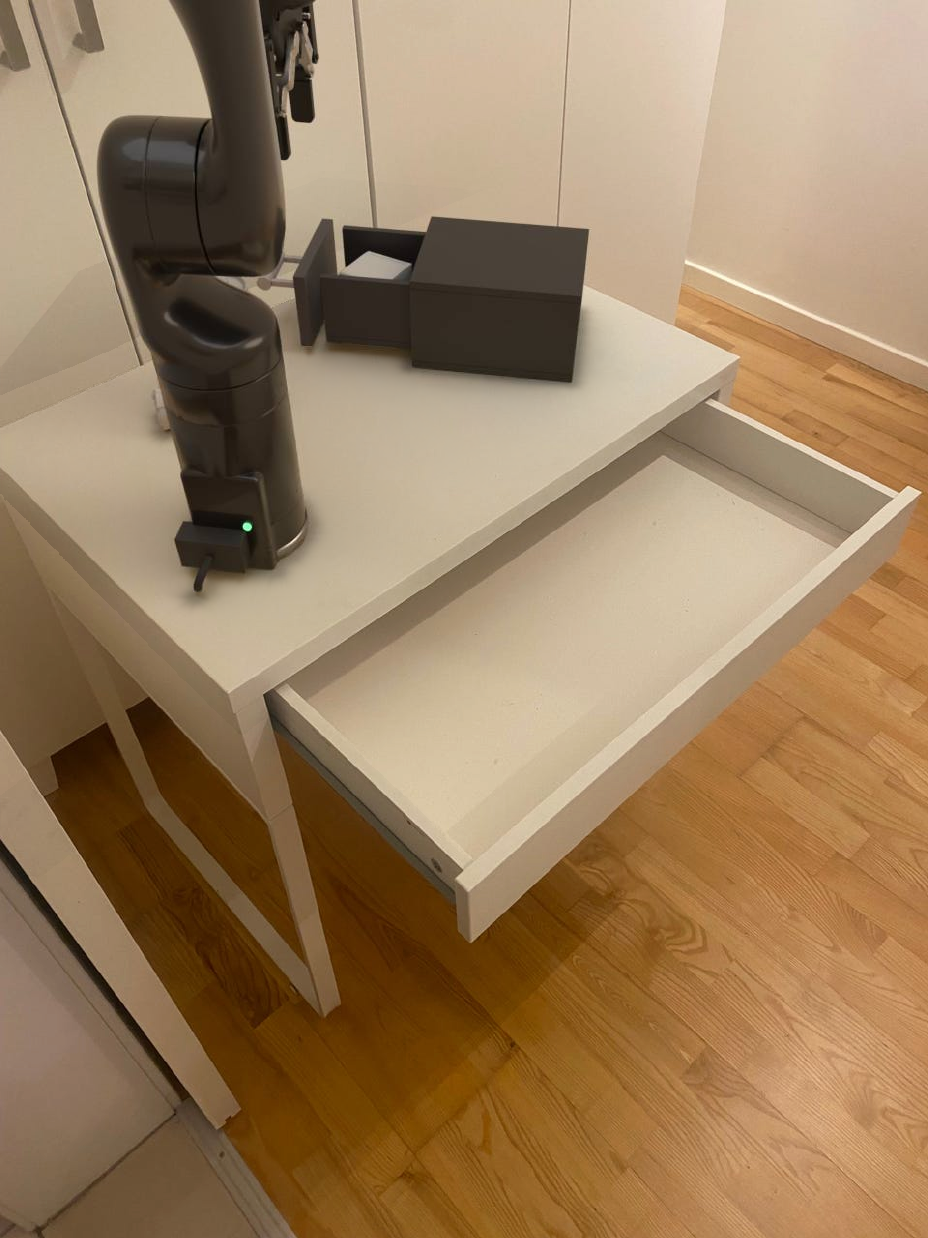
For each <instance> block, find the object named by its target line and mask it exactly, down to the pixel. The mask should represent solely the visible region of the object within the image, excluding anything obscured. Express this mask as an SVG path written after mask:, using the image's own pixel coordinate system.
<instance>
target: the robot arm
mask: <svg viewBox="0 0 928 1238" xmlns="http://www.w3.org/2000/svg"><path fill="white" fill-rule="evenodd" d="M316 1H317V0H168V2H169V4H170V5H171V8H172V9H173V11H174V13H175V15H176V17H177V19H178V20H179V23H180V25H181V27H182V29H183V31H184V33H185V35H186V37H187V40H188V42H189V44H190V47H191V49H192V52H193V55H194V57H195V60H196V64H197V66H198V69H199V73H200V76H201V79H202V83H203V87H204V91H205V94H206V98H207V102H208V107H209V112H210V116H211V117H198V116H197V117H194V116H175V115H173V116H172V115H154V114H153V115H151V114H149V115H148V114H134V115H133V114H130V115H129V114H128V115H122V116H119V117H116V118H114V119H113V120H112V121H111V122H110V123H109V124H107V126H106V127H105V128H104V130H103V132H102V135H101V137H100V140H99V144H98V148H97V156H96V180H97V191H98V198H99V203H100V207H101V212H102V217H103V221H104V226H105V229H106V233H107V235H108V238H109V241H110V245H111V249H112V251H113V254H114V257H115V260H116V264H117V266H118V269H119V272H120V275H121V278H122V280H123V284H124V286H125V289H126V290H125V291H126V292H127V296H128V300H129V302H130V305H131V308H132V312H133V315H134V318H135V321H136V325H137V329H138V331H139V334H140V336H141V339H142V341H143V343H144V345H145V346H146V348H147V349H148V351H149V352H150V356H151V359H152V363H153V366H154V371H155V374H156V378H157V382H158V386H159V388H160V390H161V394H162V398H163V402H164V406H165V410H166V414H167V418H168V422H169V425H170V429H169V430H170V433H171V436H172V437H171V438H172V440H173V444H174V449H175V452H176V457H177V460H178V464H179V467H180V473H179V477H180V480H181V484H182V489H183V493H184V496H185V500H186V504H187V508H188V511H189V515H190V519H191V521H189V520H183V521H182V523H181V524H180V526H179V528H178V531H177V532H176V535H175V536H174V539H173V541H174V544H175V545H174V546H175V548H176V551H177V552H176V553H177V555H178V559H179V562H180V566H181V567H186V568H194V569H198V570H197V573H196V575H195V578H194V581H193V591H194V592H196V593H201V592H202V591H203V585H204V582H205V579H206V577H207V574H208V572H209V571H210V570H212V571H221V572H229V573H238V574H246V573H247V569H248V567H250V568H258V569H259V568H260V569H267V570H268V569H269V570H273V569H275V567H276V565H277V563H278V561H279V560H280V559H282V558H284V557H286V556H288V555H289V554H291V553H292V552H293V551H295V550H296V549H297V548H298V547H299V546H300V545H301V544H302V542H303V541H304V540H305V538H306V536H307V533H308V530H309V517H308V512H307V511H308V510H307V507H306V505H305V498H304V492H303V485H302V477H301V471H300V465H299V458H298V450H297V444H296V437H295V429H294V423H293V416H292V415H293V414H292V408H291V403H290V401H291V400H290V396H289V389H288V380H287V372H286V366H285V365H286V364H285V358H284V352H283V351H284V350H283V343H282V335H281V330H280V329H281V328H280V325H279V321H278V317H277V315H276V313H275V312H274V310H273V309H272V308H271V306H270V305H269V304H267V302H265V301H264V300H263V299H262V298H261V297H259V296H257V295H255V294H254V293H252V292H251V291H250V292H251V293H250V292H248V291H245V290H243V289H241V288H239V287H236V286H234V285H232V284H229V283H227V282H225V281H223V280H221V279H220V278H218V277H216V276H224V277H242V278H259V277H260V276H265V275H268V274H270V273H271V272H273V270H274V269H275V268H276V267H277V265H278V263H279V262H280V259H281V256H282V253H283V252H284V249H285V242H286V239H285V238H286V231H287V230H286V228H287V220H286V219H287V213H286V212H287V211H286V209H287V208H286V194H285V191H286V190H285V183H284V175H283V174H284V173H283V167H282V161H287V160H289V158H290V157H291V155H292V147H291V140H290V139H291V138H290V132H289V123H288V122H289V121H288V114H287V112H288V109H287V107H288V106H287V105H288V101H289V108H290V117H291V120H292V121H293V122H295V123H303V124H311V123H312V122H314V120H315V118H316V109H315V100H314V99H315V98H314V90H313V79H314V77H315V73H316V72H315V67H314V65H317V64H318V62H319V59H320V56H319V49H318V40H317V30H316V20H315V11H314V10H315V9H314V3H315V2H316Z"/></svg>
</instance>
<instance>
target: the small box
mask: <svg viewBox="0 0 928 1238" xmlns="http://www.w3.org/2000/svg"><path fill="white" fill-rule="evenodd" d="M338 275H347V276H359V277H370V278H382V279H394V280H405V281H410V278H411V275H412V264H411V263H407V262H403V261H400V260H397V259H393V258H390V257H387V256H383V255H380V254H377V253H374V252H371V251H368V252H366V253H365V254H363V255H362V256H361V257H359V258H358V259H357V260H355V261H354V262H353V263H351V264H350V265H349V266H347V267H346V268H345V267H344V268H343V269H342V270H340V271H339V272H338Z"/></svg>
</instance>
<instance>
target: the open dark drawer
mask: <svg viewBox="0 0 928 1238" xmlns="http://www.w3.org/2000/svg"><path fill="white" fill-rule="evenodd" d="M334 229H335V227H334V219H333V218H321V220H320V222H319V224H318V225H317V228H316V230H315V232H314V233H313V235H312V238H311V239H310V241H309V243H308V245H307V247H306V249H305V251H304V253H303V255H292V254H290V255H289V254H286V253H285V252H284V251H283V253H282V256H281V259H280V262H279V263H278V265H277V267H276V268H275V269H274V270H273V272H271V273H270V274H268V275H265V276H260V277H257V279H256V286H257V287H258V288H259V289H260V290H261V291H265V292H267V291H269V290H270V289H271V288H272V287H277V288H287V289H293V291H294V300H295V309H296V316H297V323H298V331H299V338H300V347H307V348H313V347H314V344H315V342H316V340H317V337H318V335H319V333H320V330H321V328H322V326H324V334H325V336H324V337H325V343H332V344H343V345H353V346H363V347H374V348H385V349H396V350H406V351H411V329H410V293H409V289H410V288H409V281H405V280H394V279H382V278H370V277H359V276H347V275H339V272H338V262H337V261H338V260H337V251H336V239H335V230H334ZM341 230H342V243H343V255H344V268H346V267H347V266H349V265H350V264H351V263H353V262H354V261H355V260H357V259H358V258H359V257H361V256H362V255H363V254H365V253H366V252H368V251H371V252H374V253H377V254H380V255H383V256H387V257H390V258H393V259H397V260H400V261H403V262H407V263H411V264H412V272H413V269H414V266H415V263H416V260H417V257H418V254H419V252H420V249H421V246H422V243H423V240H424V237H425V234H426V231H420V230H409V229H408V230H407V229H396V228H395V229H393V228H384V227H383V228H381V227H372V226H371V227H369V226H358V225H343V226H342V229H341ZM284 263H287V264H288V263H289V264H298V265H297V267H296V269H295V271H294V273H293V274H292V279H287V278H284V279H283V278H277V277H278V274H279V273H280V271H281V269H282V267H283V265H284ZM323 324H324V325H323Z"/></svg>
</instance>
